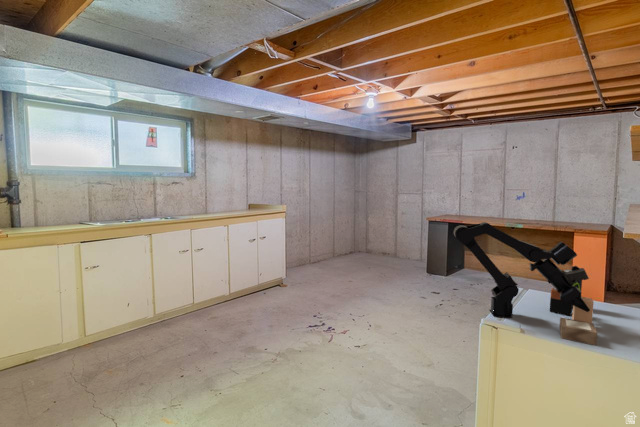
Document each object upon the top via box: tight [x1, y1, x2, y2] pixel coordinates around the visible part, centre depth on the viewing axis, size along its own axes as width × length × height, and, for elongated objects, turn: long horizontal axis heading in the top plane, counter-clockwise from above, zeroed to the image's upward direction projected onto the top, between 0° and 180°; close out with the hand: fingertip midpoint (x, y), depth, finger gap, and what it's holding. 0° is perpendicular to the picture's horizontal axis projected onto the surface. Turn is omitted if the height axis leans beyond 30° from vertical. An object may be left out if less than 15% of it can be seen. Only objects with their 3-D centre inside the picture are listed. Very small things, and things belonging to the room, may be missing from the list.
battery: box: [549, 287, 573, 317], centre depth 135 cm, size 4×7×10 cm, turn 47°
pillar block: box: [571, 296, 595, 323], centre depth 122 cm, size 5×5×10 cm
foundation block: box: [559, 317, 598, 346], centre depth 114 cm, size 9×9×4 cm
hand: (587, 308), depth 121 cm, fingers closed on pillar block, 5 cm apart
